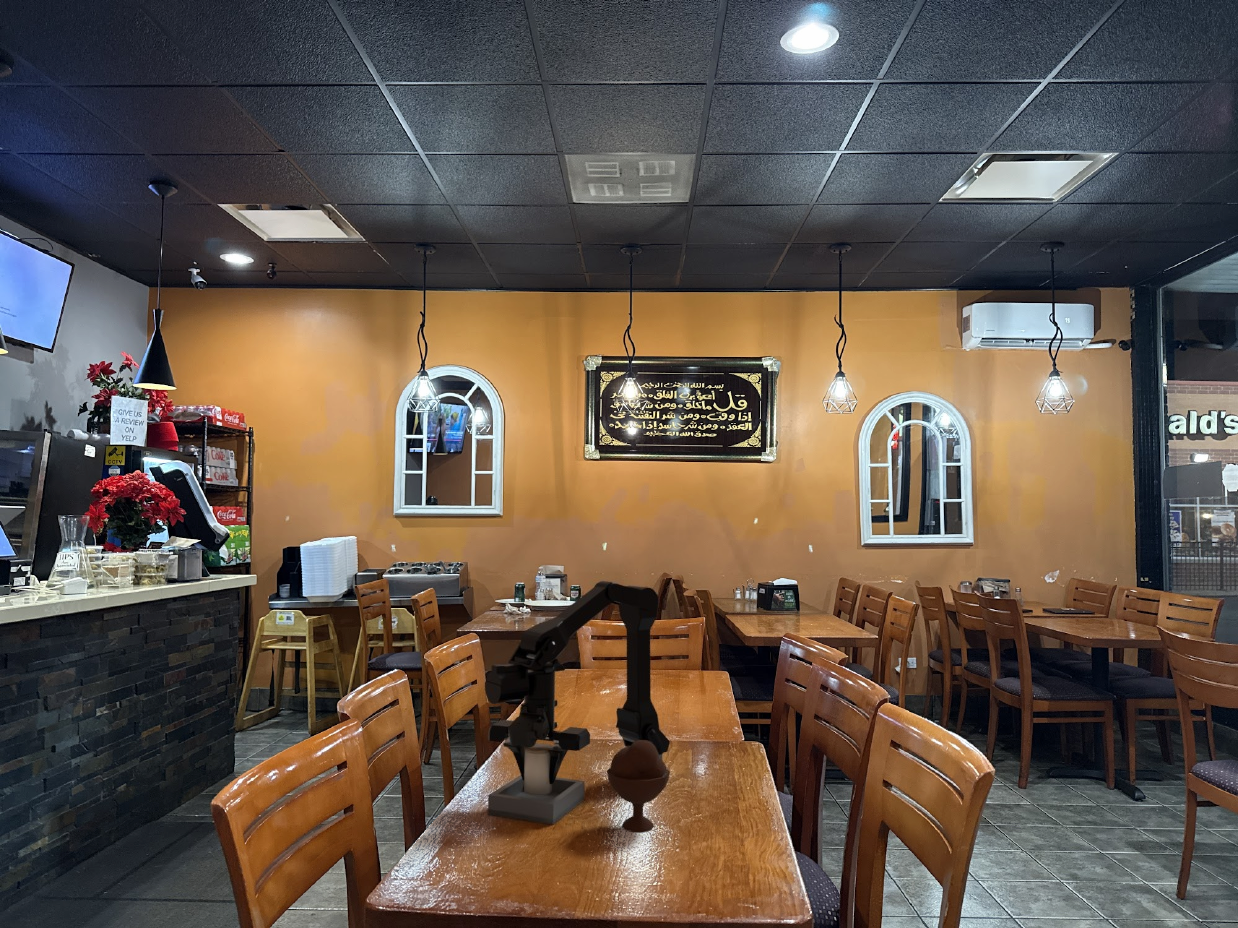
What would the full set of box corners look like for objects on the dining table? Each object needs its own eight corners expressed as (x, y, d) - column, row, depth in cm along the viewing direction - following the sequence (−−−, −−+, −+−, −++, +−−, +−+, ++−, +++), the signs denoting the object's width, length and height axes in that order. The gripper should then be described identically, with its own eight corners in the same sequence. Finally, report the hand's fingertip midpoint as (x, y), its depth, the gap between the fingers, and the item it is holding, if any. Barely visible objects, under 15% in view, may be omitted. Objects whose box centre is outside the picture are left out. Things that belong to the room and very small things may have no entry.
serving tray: (584, 799, 155) (584, 780, 155) (553, 824, 142) (553, 804, 142) (523, 791, 160) (523, 772, 160) (487, 814, 147) (488, 794, 147)
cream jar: (557, 787, 153) (557, 744, 153) (544, 796, 148) (545, 752, 148) (531, 784, 155) (532, 741, 155) (518, 793, 150) (519, 748, 150)
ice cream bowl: (675, 819, 145) (676, 733, 147) (658, 842, 135) (658, 749, 136) (619, 811, 149) (620, 728, 150) (598, 833, 138) (599, 743, 139)
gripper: (474, 701, 148) (472, 788, 147) (567, 710, 142) (566, 801, 141) (503, 689, 159) (501, 771, 157) (591, 697, 152) (590, 782, 151)
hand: (538, 781), depth 151 cm, fingers closed on cream jar, 5 cm apart
